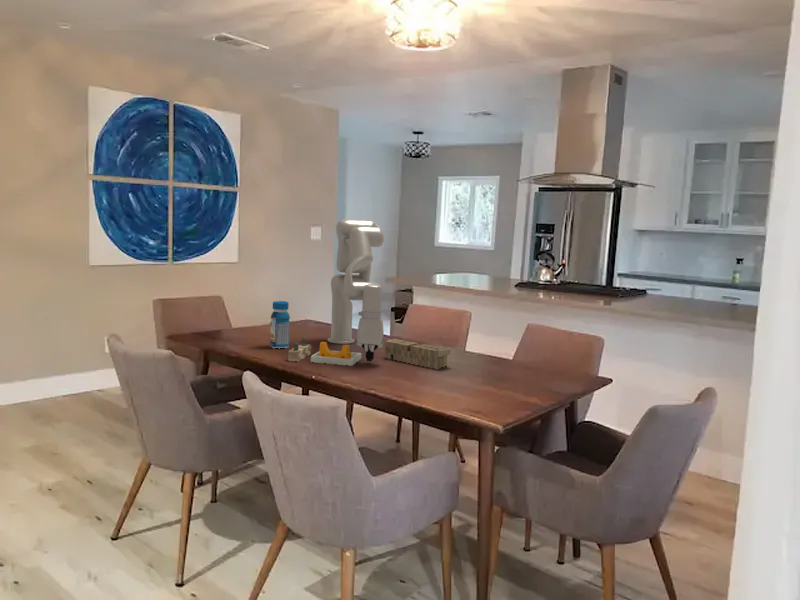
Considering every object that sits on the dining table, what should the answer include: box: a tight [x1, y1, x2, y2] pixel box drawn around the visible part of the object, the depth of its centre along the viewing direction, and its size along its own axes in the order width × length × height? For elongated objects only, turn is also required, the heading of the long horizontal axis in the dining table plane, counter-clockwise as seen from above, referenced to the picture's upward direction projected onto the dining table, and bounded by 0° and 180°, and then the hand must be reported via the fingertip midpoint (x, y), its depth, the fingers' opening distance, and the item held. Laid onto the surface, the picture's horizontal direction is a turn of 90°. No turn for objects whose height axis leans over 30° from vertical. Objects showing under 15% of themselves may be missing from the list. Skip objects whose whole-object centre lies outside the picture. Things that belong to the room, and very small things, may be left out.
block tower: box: [384, 338, 452, 370], centre depth 261 cm, size 8×8×29 cm
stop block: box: [287, 337, 312, 362], centre depth 260 cm, size 16×4×7 cm, turn 169°
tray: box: [310, 349, 362, 367], centre depth 257 cm, size 14×17×2 cm
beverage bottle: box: [269, 300, 291, 350], centre depth 277 cm, size 8×8×20 cm
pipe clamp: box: [319, 341, 352, 359], centre depth 257 cm, size 12×4×6 cm, turn 70°
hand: (369, 360), depth 255 cm, fingers closed
